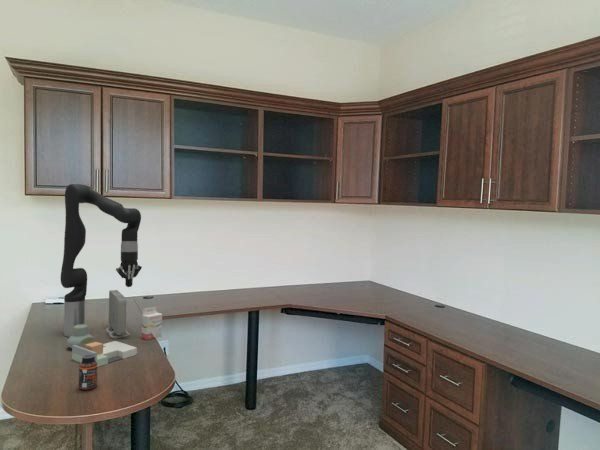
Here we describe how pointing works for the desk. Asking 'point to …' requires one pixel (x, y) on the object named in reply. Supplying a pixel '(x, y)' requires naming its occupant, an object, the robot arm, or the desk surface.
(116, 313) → the network device
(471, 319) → the desk surface
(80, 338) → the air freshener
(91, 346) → the block
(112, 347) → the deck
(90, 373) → the supplement bottle
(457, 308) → the desk surface
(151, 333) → the ink cartridge box
